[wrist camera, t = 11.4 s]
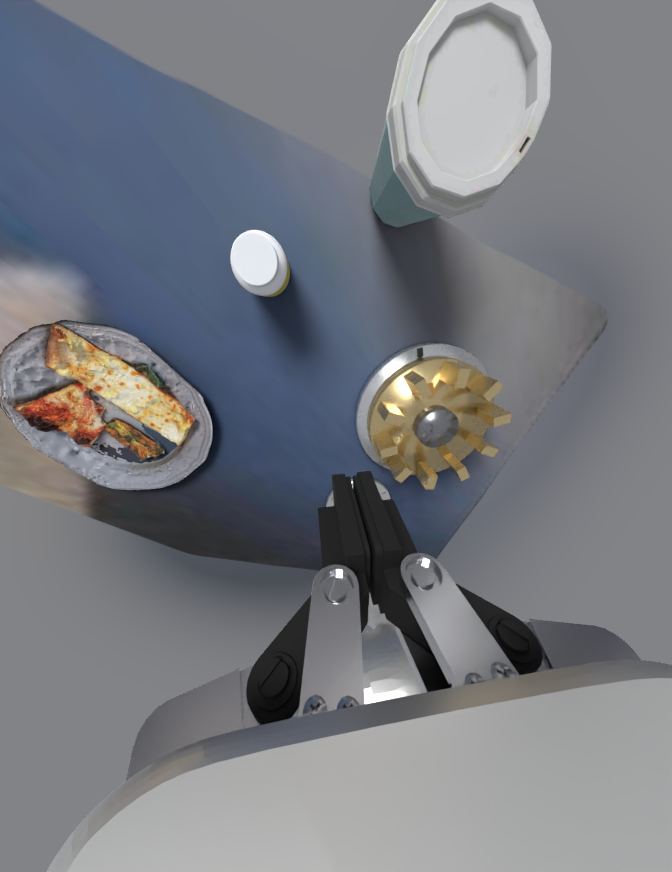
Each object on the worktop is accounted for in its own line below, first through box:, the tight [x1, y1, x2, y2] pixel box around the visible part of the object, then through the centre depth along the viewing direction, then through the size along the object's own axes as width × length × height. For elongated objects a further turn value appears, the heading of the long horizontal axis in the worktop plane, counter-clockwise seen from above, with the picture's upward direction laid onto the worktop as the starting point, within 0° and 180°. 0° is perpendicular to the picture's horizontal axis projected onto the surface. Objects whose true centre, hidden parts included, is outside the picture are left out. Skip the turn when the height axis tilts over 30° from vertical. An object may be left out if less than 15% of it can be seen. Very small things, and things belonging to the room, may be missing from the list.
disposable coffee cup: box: [370, 0, 551, 228], centre depth 22 cm, size 11×11×15 cm
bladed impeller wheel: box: [367, 356, 511, 489], centre depth 38 cm, size 19×19×6 cm
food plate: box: [0, 320, 213, 490], centre depth 36 cm, size 25×23×4 cm
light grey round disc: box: [355, 342, 489, 470], centre depth 42 cm, size 22×22×2 cm
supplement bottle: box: [231, 230, 290, 297], centre depth 27 cm, size 5×5×10 cm
